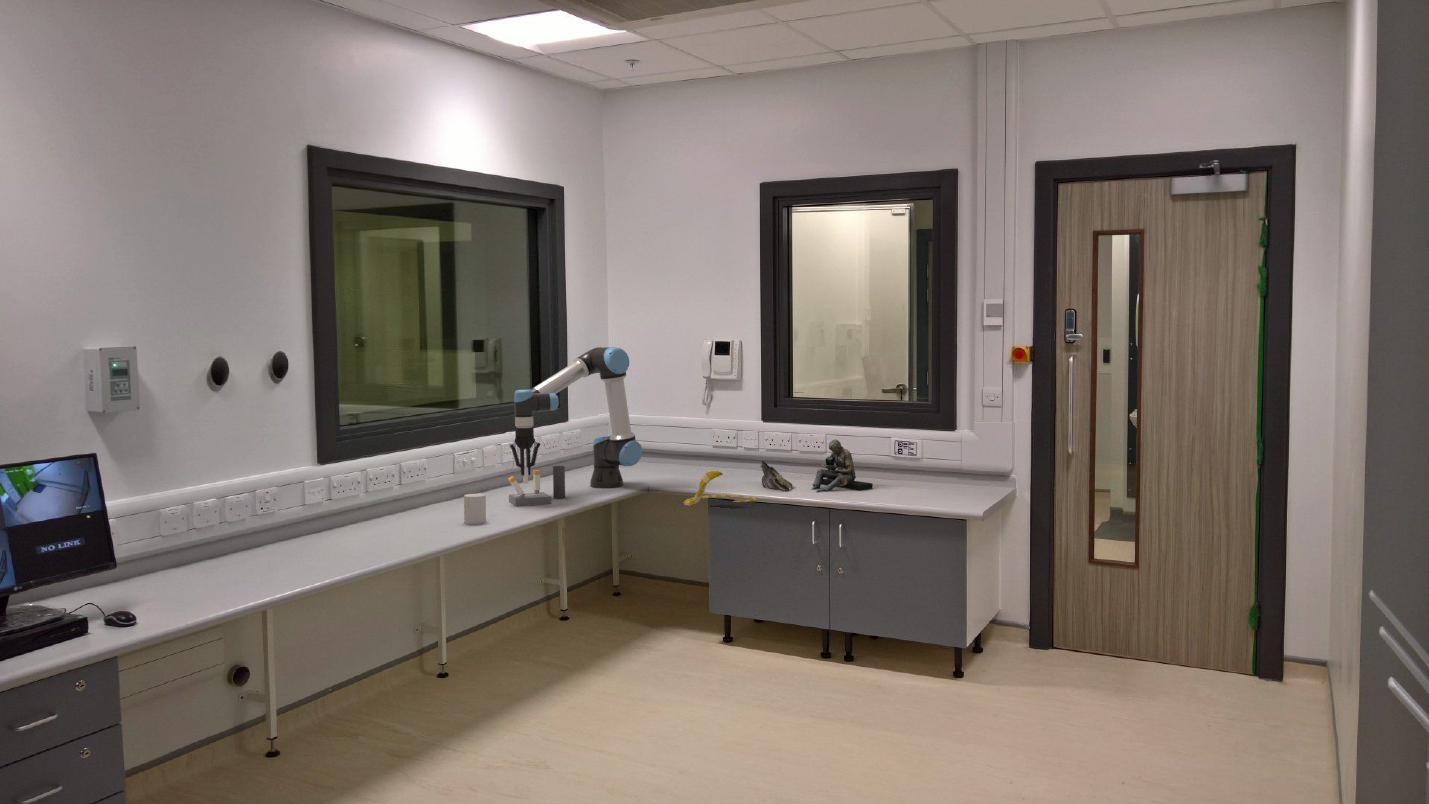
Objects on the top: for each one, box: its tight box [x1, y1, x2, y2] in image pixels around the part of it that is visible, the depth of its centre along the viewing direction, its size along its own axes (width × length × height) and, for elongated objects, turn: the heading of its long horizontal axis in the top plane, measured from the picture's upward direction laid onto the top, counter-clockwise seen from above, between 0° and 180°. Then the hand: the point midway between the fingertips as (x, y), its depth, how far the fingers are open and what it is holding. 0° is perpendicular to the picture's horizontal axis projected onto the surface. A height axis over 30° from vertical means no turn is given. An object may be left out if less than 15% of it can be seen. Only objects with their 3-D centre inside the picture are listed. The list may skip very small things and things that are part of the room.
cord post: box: [552, 465, 566, 500], centre depth 434 cm, size 5×5×14 cm
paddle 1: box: [507, 475, 526, 498], centre depth 418 cm, size 2×4×10 cm
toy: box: [683, 470, 758, 507], centre depth 418 cm, size 29×28×15 cm
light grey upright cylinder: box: [463, 493, 487, 525], centre depth 387 cm, size 8×8×12 cm
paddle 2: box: [532, 469, 541, 493], centre depth 429 cm, size 2×4×10 cm, turn 23°
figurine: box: [810, 439, 874, 493], centre depth 444 cm, size 25×24×24 cm
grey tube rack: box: [508, 491, 552, 507], centre depth 424 cm, size 15×13×3 cm
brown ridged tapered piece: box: [760, 460, 793, 492], centre depth 454 cm, size 22×9×28 cm
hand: (525, 483), depth 419 cm, fingers closed
